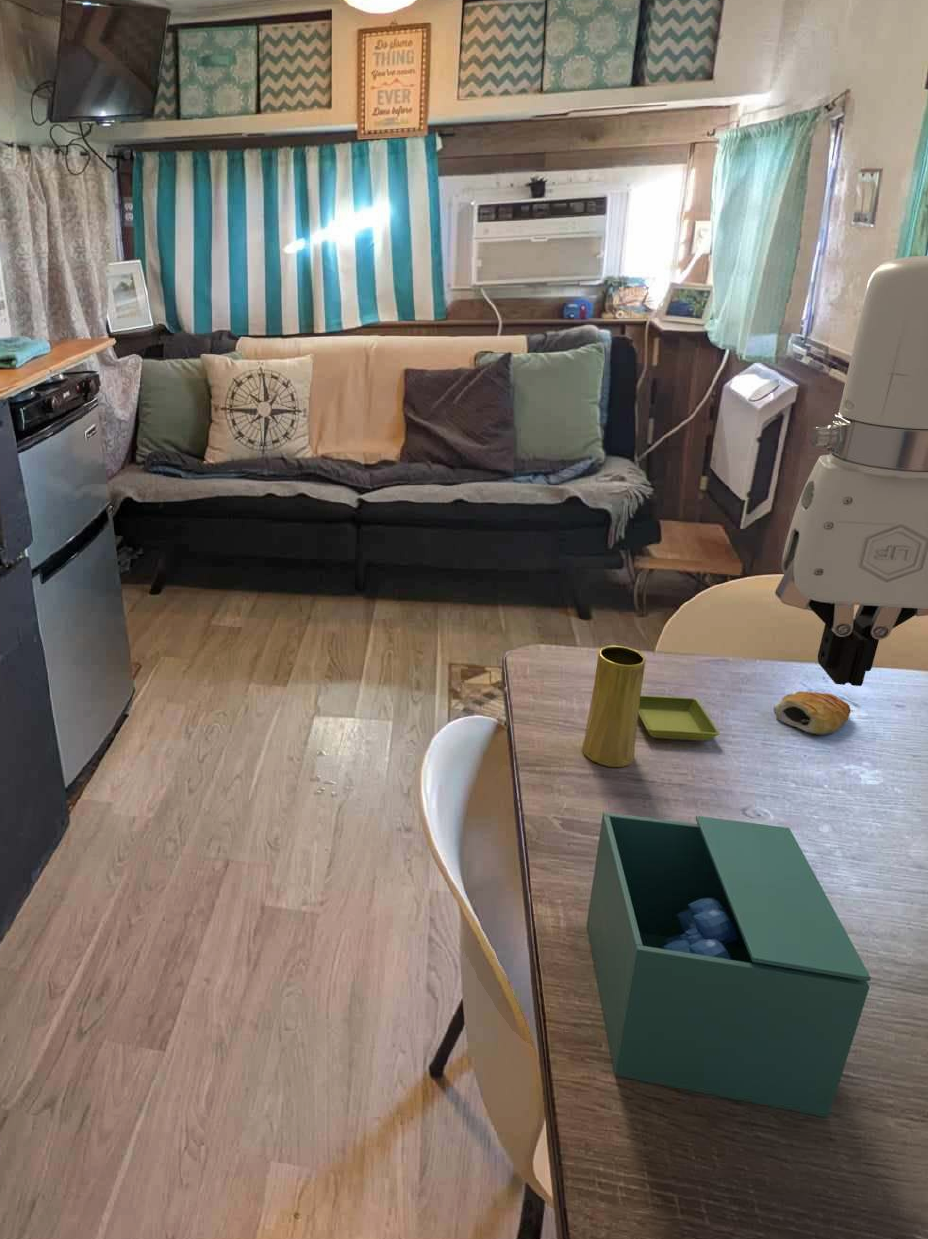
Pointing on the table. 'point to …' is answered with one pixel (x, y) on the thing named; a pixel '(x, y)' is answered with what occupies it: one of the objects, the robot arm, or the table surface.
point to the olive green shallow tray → (676, 718)
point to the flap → (778, 899)
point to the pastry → (813, 712)
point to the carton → (705, 983)
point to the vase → (614, 707)
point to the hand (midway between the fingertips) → (840, 675)
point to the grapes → (703, 930)
